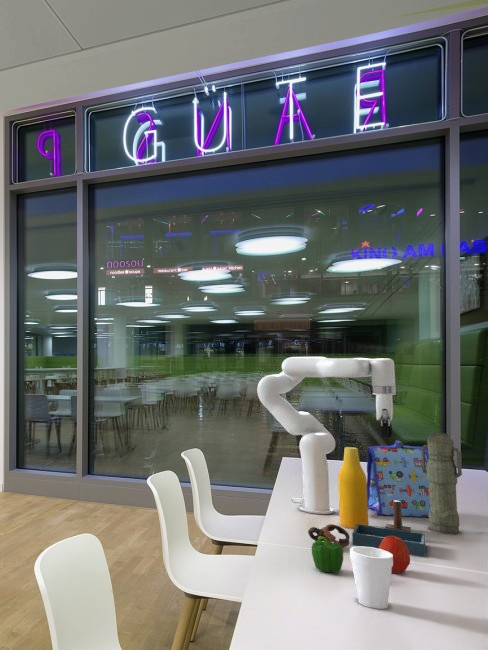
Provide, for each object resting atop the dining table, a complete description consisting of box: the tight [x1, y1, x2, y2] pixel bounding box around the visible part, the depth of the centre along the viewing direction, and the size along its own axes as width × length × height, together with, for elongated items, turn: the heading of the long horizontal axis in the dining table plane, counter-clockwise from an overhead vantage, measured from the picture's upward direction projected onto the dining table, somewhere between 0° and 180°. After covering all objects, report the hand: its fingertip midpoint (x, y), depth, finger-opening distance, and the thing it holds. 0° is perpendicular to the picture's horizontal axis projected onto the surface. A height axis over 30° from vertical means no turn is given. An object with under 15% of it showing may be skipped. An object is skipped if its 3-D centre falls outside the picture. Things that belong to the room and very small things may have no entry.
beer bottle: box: [337, 446, 370, 530], centre depth 225 cm, size 9×9×29 cm
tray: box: [352, 524, 427, 558], centre depth 202 cm, size 20×14×4 cm
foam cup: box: [349, 546, 393, 610], centre depth 155 cm, size 10×9×13 cm
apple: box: [378, 535, 411, 574], centre depth 178 cm, size 8×8×11 cm
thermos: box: [421, 432, 463, 535], centre depth 220 cm, size 9×12×35 cm
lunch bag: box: [366, 439, 430, 518], centre depth 244 cm, size 22×14×29 cm, turn 80°
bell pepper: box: [311, 536, 344, 574], centre depth 179 cm, size 8×8×10 cm
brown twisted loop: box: [307, 523, 350, 549], centre depth 200 cm, size 12×10×8 cm
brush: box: [384, 500, 412, 532], centre depth 211 cm, size 7×5×12 cm
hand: (386, 435), depth 228 cm, fingers open, 9 cm apart
